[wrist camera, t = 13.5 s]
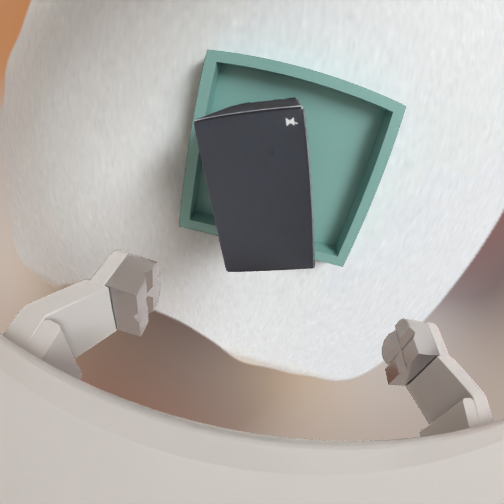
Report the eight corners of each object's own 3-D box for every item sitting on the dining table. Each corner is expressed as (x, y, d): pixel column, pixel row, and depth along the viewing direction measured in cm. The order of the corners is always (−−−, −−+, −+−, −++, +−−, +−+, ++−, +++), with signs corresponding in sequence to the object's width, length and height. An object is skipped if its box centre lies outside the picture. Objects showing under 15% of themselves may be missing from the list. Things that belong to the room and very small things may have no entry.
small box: (224, 105, 22) (186, 117, 14) (298, 96, 21) (308, 100, 13) (243, 211, 28) (222, 275, 19) (309, 205, 27) (319, 270, 18)
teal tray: (214, 53, 20) (207, 49, 18) (395, 103, 21) (406, 106, 18) (186, 214, 29) (178, 226, 27) (339, 252, 30) (342, 266, 28)
